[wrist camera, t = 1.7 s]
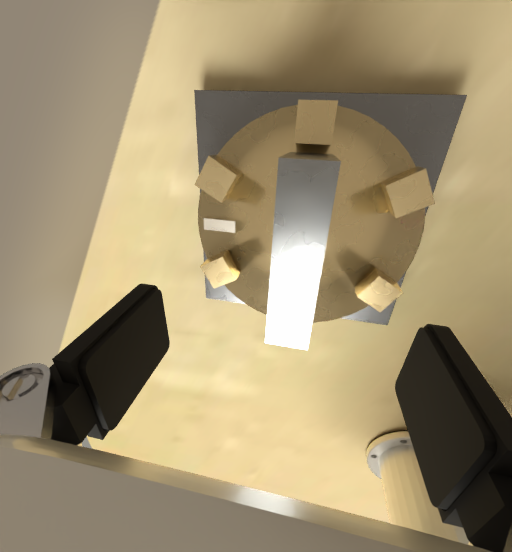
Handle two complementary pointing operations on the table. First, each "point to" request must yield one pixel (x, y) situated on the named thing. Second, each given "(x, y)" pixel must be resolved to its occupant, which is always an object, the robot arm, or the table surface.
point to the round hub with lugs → (311, 216)
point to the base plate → (381, 107)
